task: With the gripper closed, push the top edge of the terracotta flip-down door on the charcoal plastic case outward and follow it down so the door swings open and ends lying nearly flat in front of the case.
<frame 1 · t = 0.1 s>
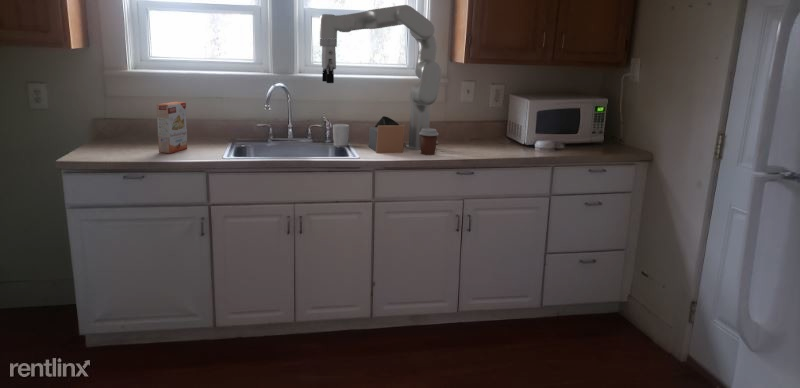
hand: (327, 82, 271), 31 cm above the table, tool pointing down, fingers open, 9 cm apart
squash: (387, 144, 301), on the table
side door: (390, 139, 274), point 7 cm above the table, hinge at 8.0°
case: (384, 150, 284), on the table
cracker box: (173, 151, 263), on the table
white cup: (340, 145, 293), on the table
coffee cup: (427, 155, 277), on the table
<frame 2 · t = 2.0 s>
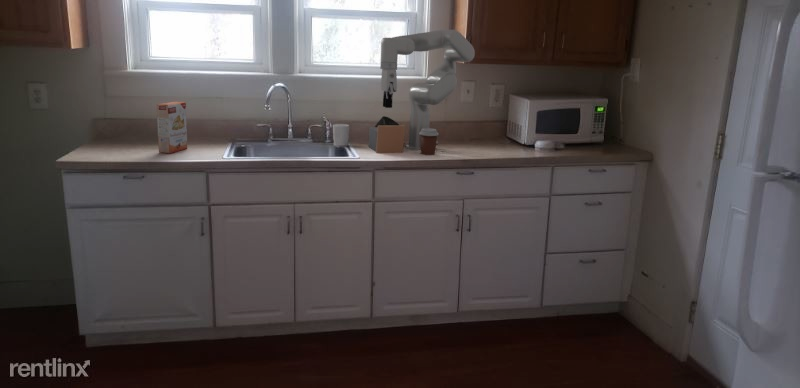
hand: (387, 106, 273), 21 cm above the table, tool pointing down, fingers closed
nothing on the table moved.
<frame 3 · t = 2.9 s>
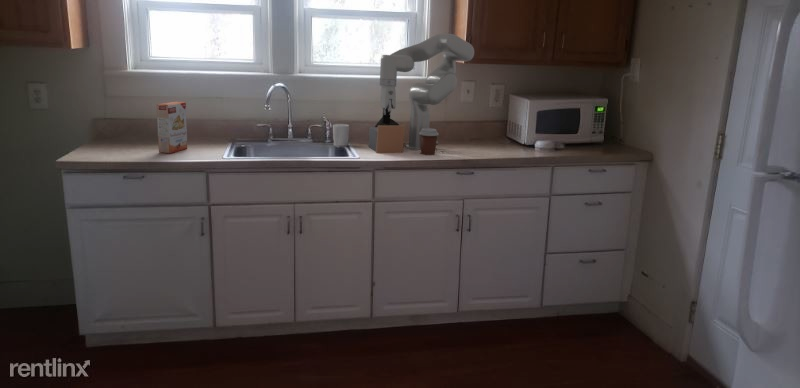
hand: (386, 123, 275), 14 cm above the table, tool pointing down, fingers closed
nothing on the table moved.
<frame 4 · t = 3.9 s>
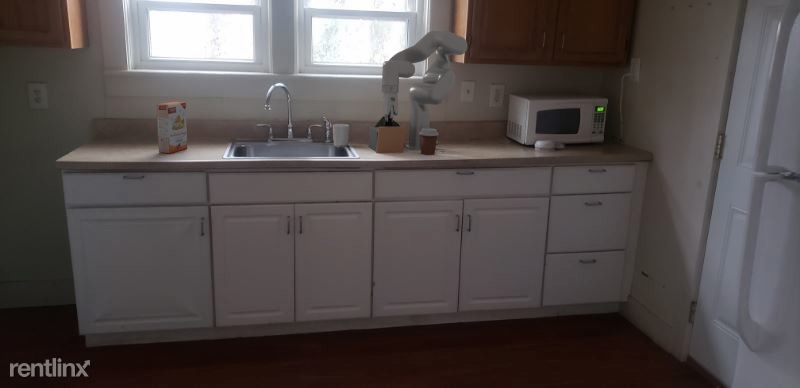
hand: (388, 130, 273), 11 cm above the table, tool pointing down, fingers closed
side door: (391, 139, 274), point 7 cm above the table, hinge at 16.5°, touching gripper
everything else where it was.
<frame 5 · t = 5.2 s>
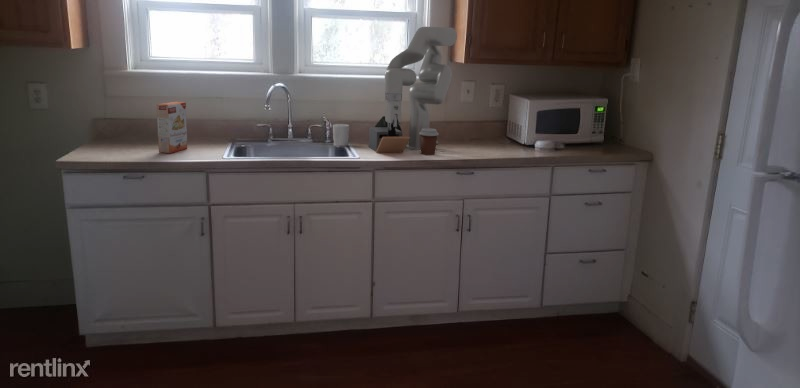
hand: (391, 138, 268), 8 cm above the table, tool pointing down, fingers closed
side door: (392, 144, 271), point 5 cm above the table, hinge at 49.8°, touching gripper
everything else where it was.
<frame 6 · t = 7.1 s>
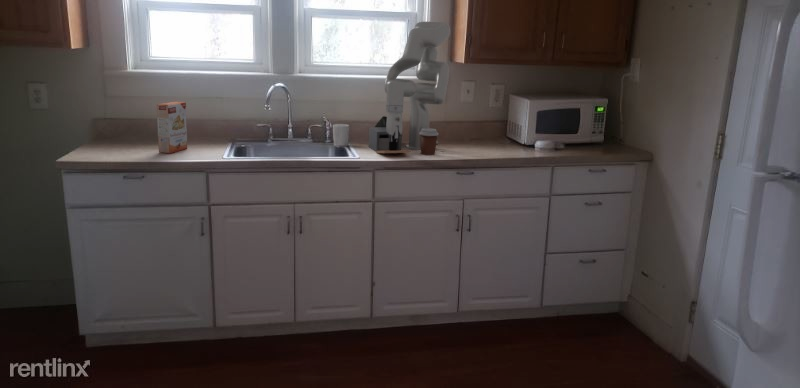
hand: (392, 150, 267), 3 cm above the table, tool pointing down, fingers closed
side door: (393, 151, 270), point 2 cm above the table, hinge at 79.6°, touching gripper
everything else where it was.
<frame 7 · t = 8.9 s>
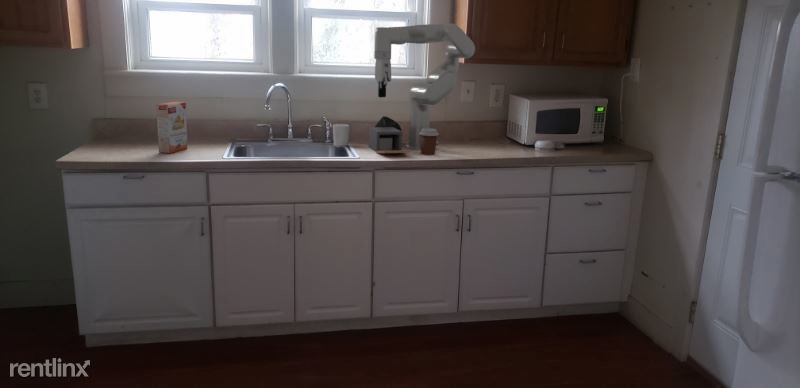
hand: (382, 97, 274), 25 cm above the table, tool pointing down, fingers closed
side door: (393, 151, 270), point 2 cm above the table, hinge at 79.6°
everything else where it was.
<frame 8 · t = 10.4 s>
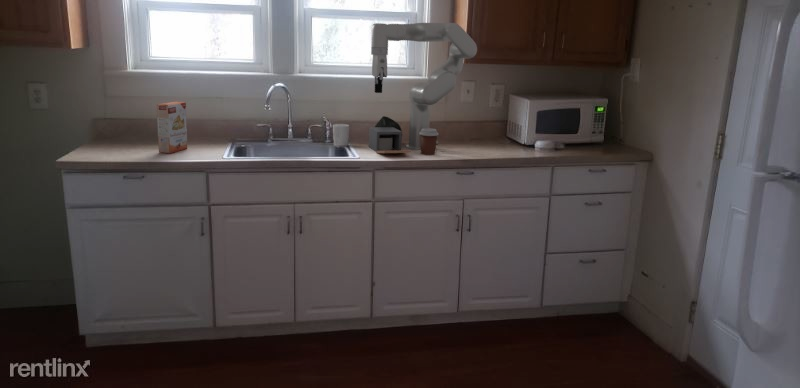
hand: (378, 92, 276), 27 cm above the table, tool pointing down, fingers closed
nothing on the table moved.
at the end: side door at +80° (first picture: +8°); coffee cup moved 0.2 cm from its start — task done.
